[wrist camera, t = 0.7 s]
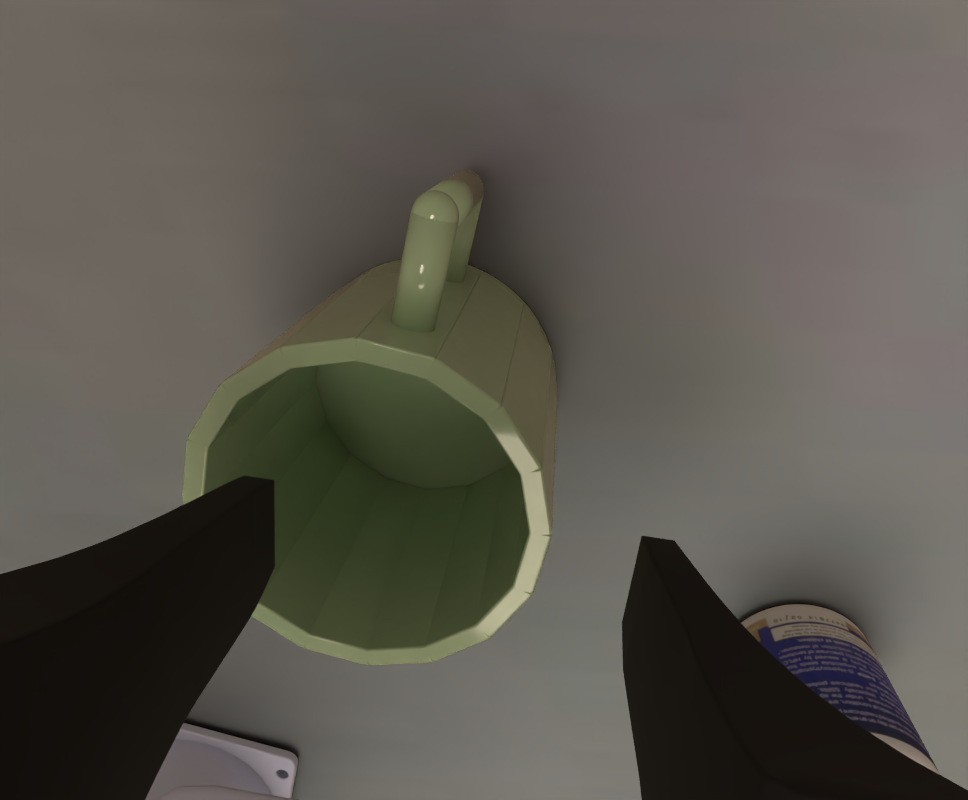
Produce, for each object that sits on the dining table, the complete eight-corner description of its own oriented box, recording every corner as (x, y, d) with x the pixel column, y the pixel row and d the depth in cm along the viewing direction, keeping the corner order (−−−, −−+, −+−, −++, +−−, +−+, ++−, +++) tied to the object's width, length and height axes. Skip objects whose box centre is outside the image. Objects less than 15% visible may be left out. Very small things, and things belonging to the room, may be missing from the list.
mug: (520, 516, 25) (498, 702, 18) (294, 457, 25) (172, 614, 18) (615, 199, 21) (642, 257, 13) (342, 129, 21) (207, 145, 13)
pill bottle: (719, 598, 26) (788, 829, 18) (877, 599, 25) (1024, 841, 17) (713, 712, 28) (772, 968, 19) (858, 716, 27) (982, 983, 19)
